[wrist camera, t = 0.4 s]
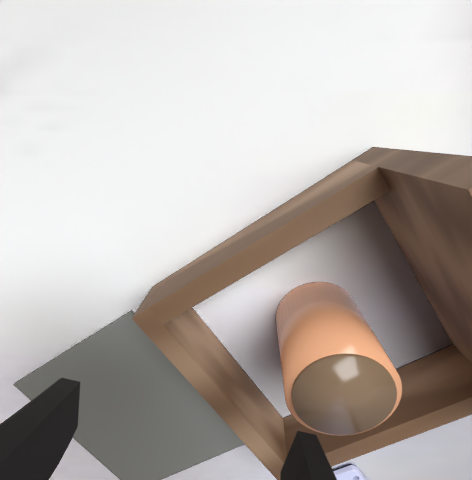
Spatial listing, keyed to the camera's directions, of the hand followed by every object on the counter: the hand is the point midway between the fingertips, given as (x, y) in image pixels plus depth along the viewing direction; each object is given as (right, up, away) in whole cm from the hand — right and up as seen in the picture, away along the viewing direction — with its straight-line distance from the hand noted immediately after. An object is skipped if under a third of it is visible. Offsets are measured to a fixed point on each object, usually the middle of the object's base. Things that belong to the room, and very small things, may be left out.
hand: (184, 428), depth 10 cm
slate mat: (-6, -7, +13) cm, 16 cm away
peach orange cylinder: (+7, +1, +9) cm, 12 cm away
